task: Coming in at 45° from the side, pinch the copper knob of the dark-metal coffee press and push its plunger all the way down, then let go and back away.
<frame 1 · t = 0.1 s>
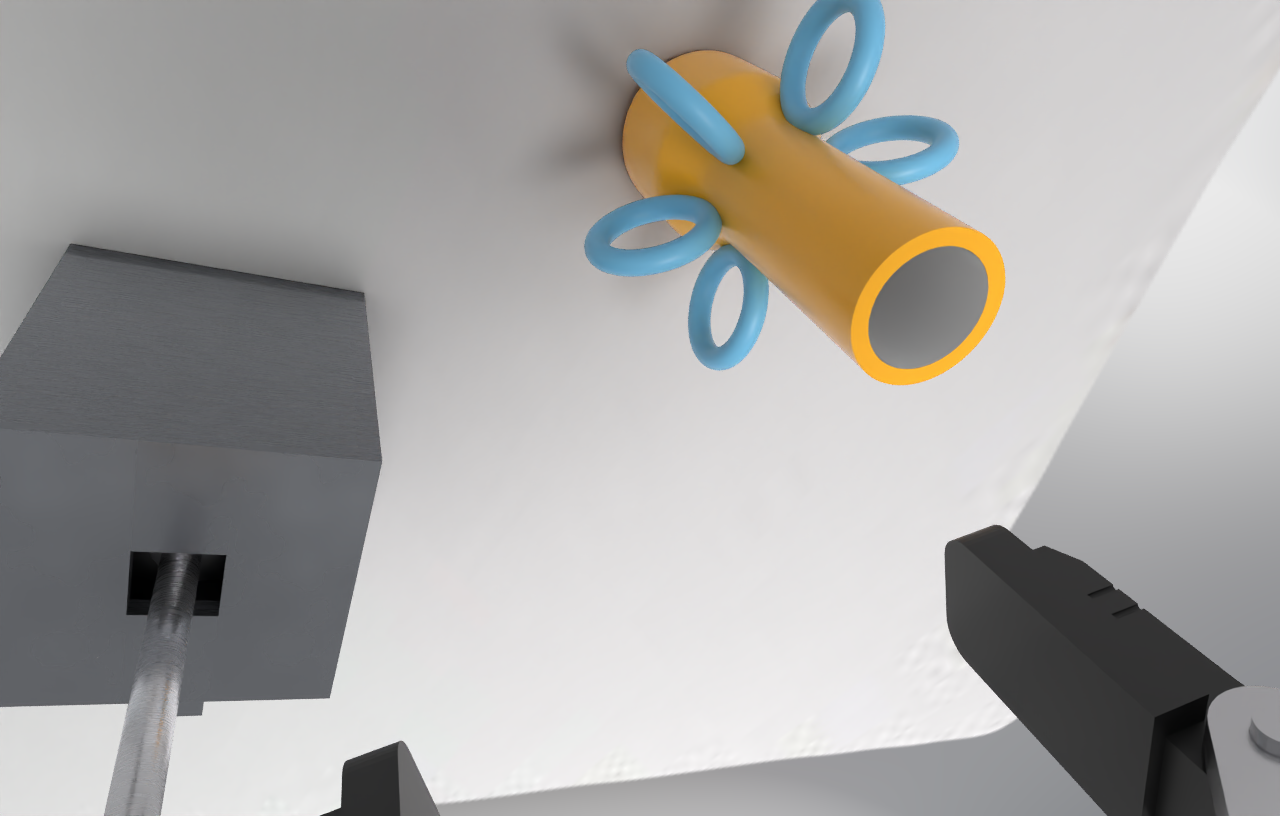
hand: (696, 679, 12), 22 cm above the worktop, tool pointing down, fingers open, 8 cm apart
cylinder: (694, 134, 32), on the worktop
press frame: (214, 383, 31), on the worktop
plunger: (148, 733, 19), point 15 cm above the worktop, slide at 0.0 cm
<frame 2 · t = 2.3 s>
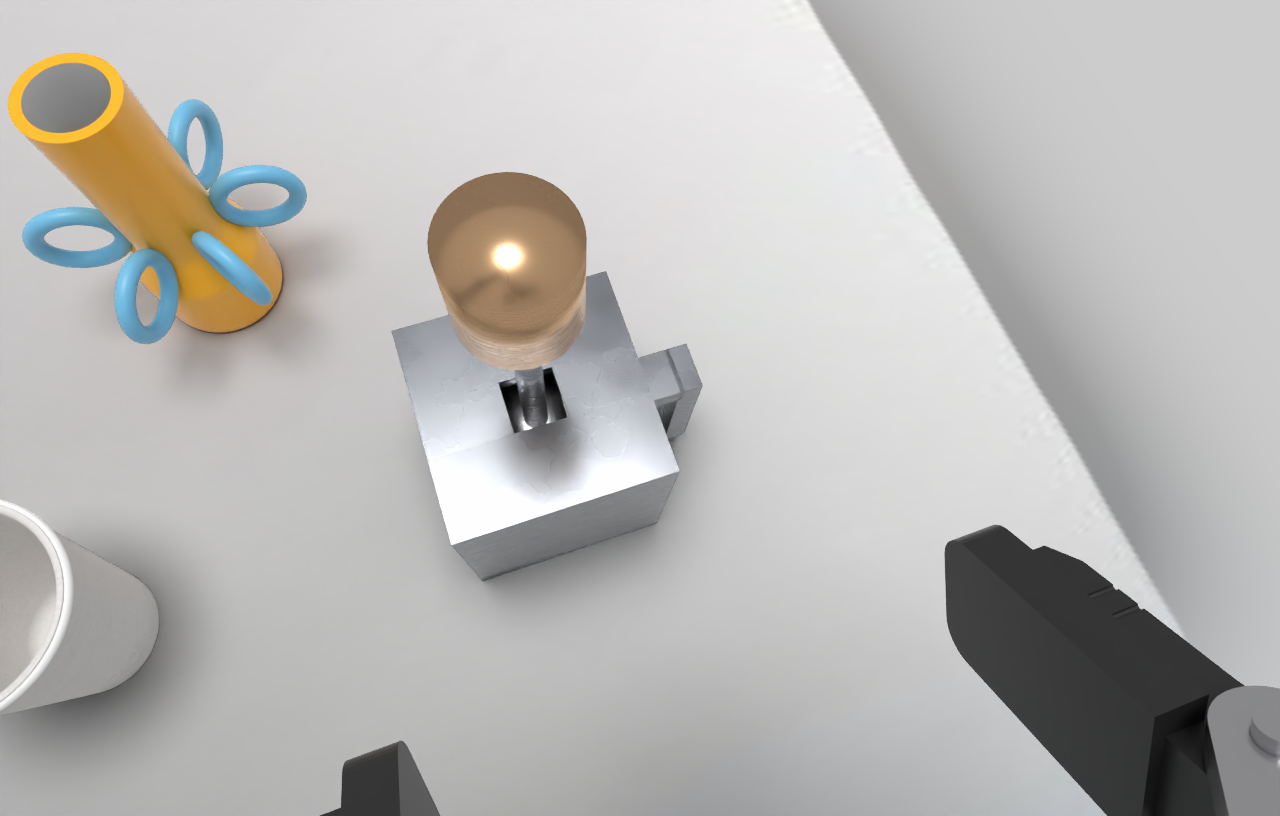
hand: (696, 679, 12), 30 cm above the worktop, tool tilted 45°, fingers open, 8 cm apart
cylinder: (229, 284, 46), on the worktop
dixie cup: (98, 631, 40), on the worktop
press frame: (544, 467, 43), on the worktop
plunger: (526, 354, 29), point 15 cm above the worktop, slide at 0.0 cm
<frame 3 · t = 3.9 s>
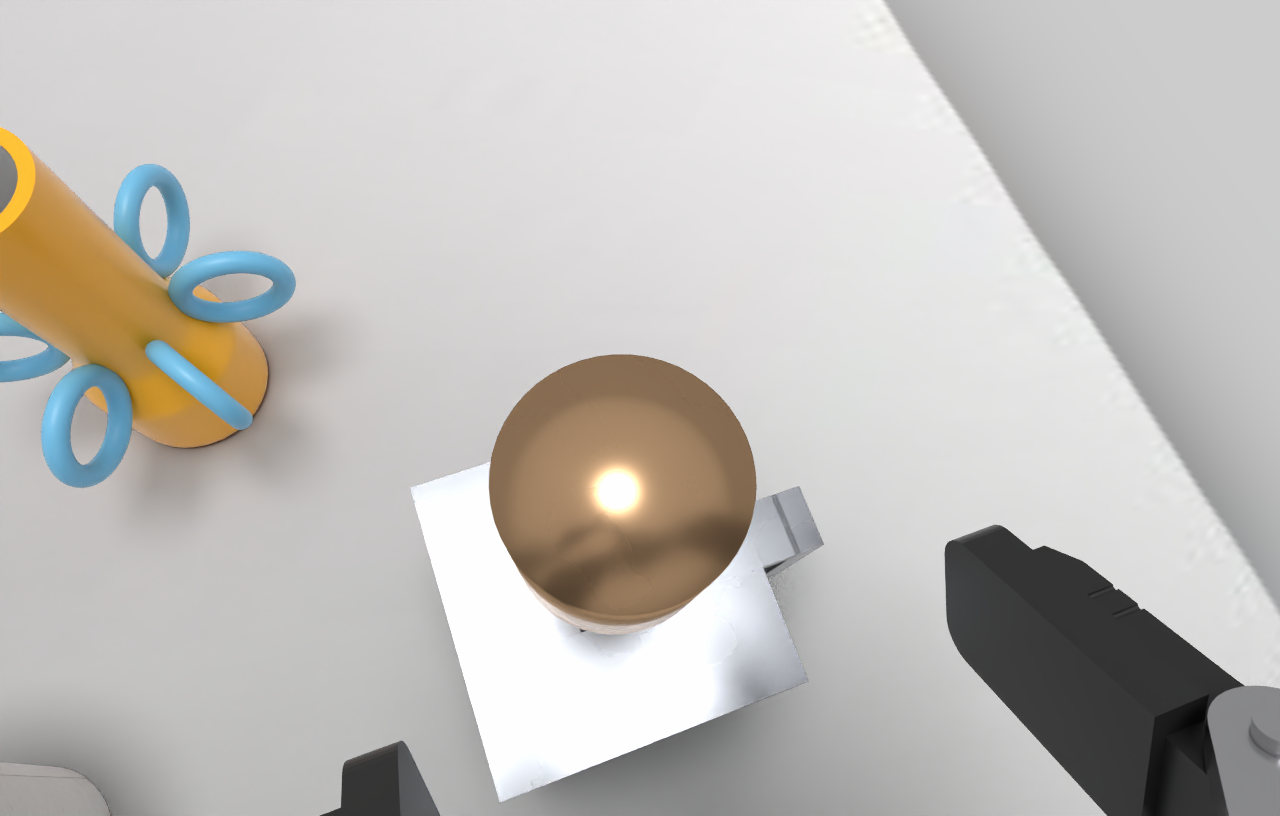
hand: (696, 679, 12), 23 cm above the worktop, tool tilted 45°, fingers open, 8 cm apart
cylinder: (202, 384, 37), on the worktop
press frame: (599, 615, 34), on the worktop
plunger: (609, 557, 20), point 15 cm above the worktop, slide at 0.0 cm
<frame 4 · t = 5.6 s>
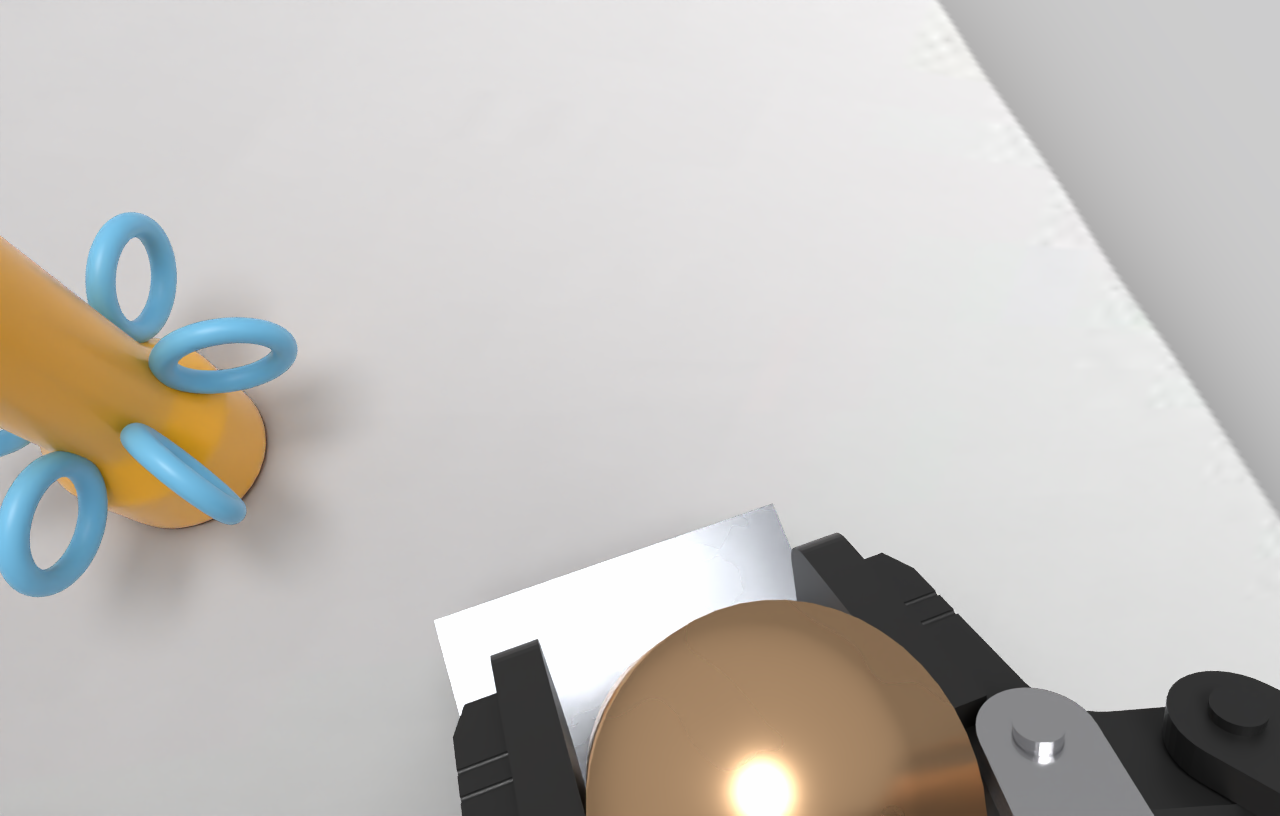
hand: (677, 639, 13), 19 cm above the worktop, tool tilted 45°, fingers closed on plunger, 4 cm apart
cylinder: (191, 452, 32), on the worktop
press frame: (642, 725, 30), on the worktop
plunger: (694, 753, 16), point 15 cm above the worktop, slide at 0.0 cm, touching gripper
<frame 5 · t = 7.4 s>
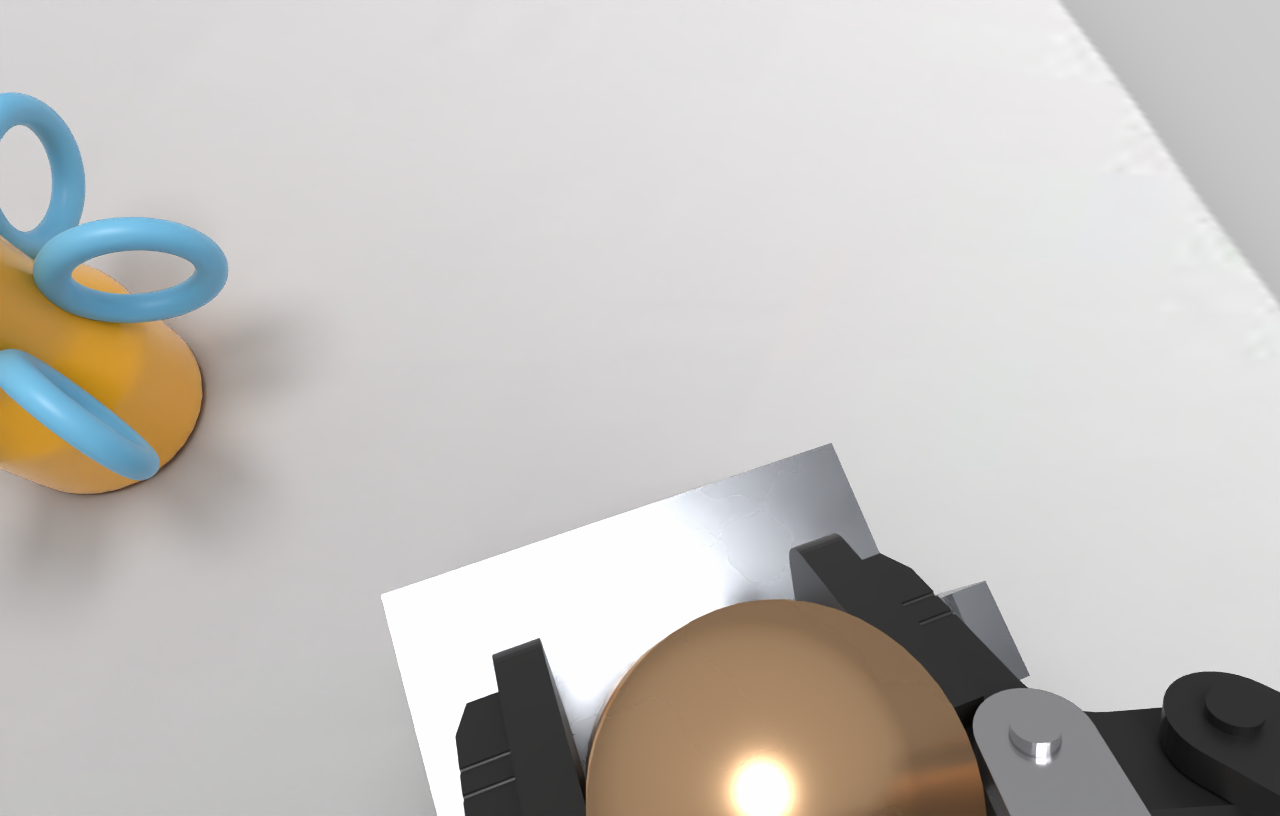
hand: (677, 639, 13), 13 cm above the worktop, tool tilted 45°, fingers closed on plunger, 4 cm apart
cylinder: (114, 405, 27), on the worktop
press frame: (653, 731, 25), on the worktop
plunger: (693, 753, 16), point 10 cm above the worktop, slide at 5.7 cm, touching gripper
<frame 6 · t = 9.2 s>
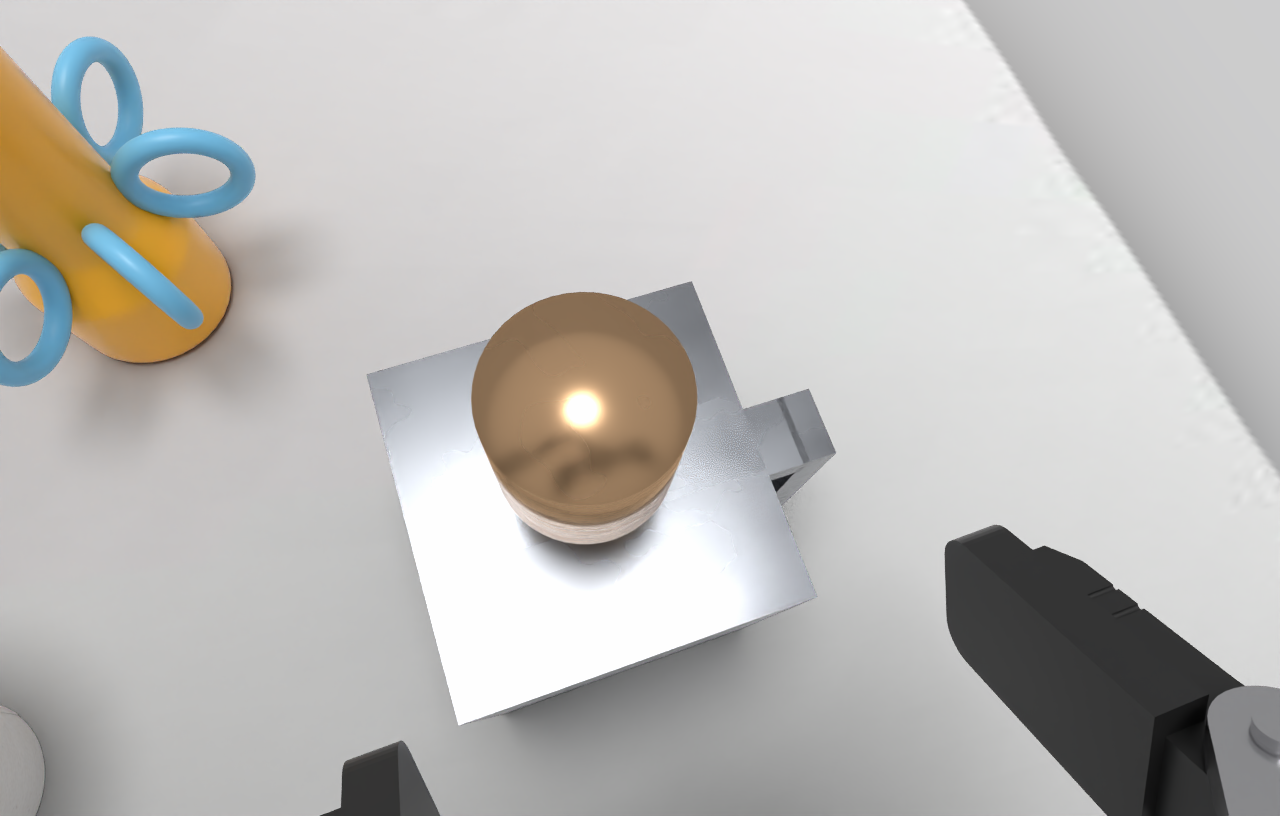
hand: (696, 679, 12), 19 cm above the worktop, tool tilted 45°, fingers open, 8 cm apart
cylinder: (160, 297, 34), on the worktop
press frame: (586, 550, 31), on the worktop
plunger: (586, 491, 22), point 10 cm above the worktop, slide at 5.7 cm
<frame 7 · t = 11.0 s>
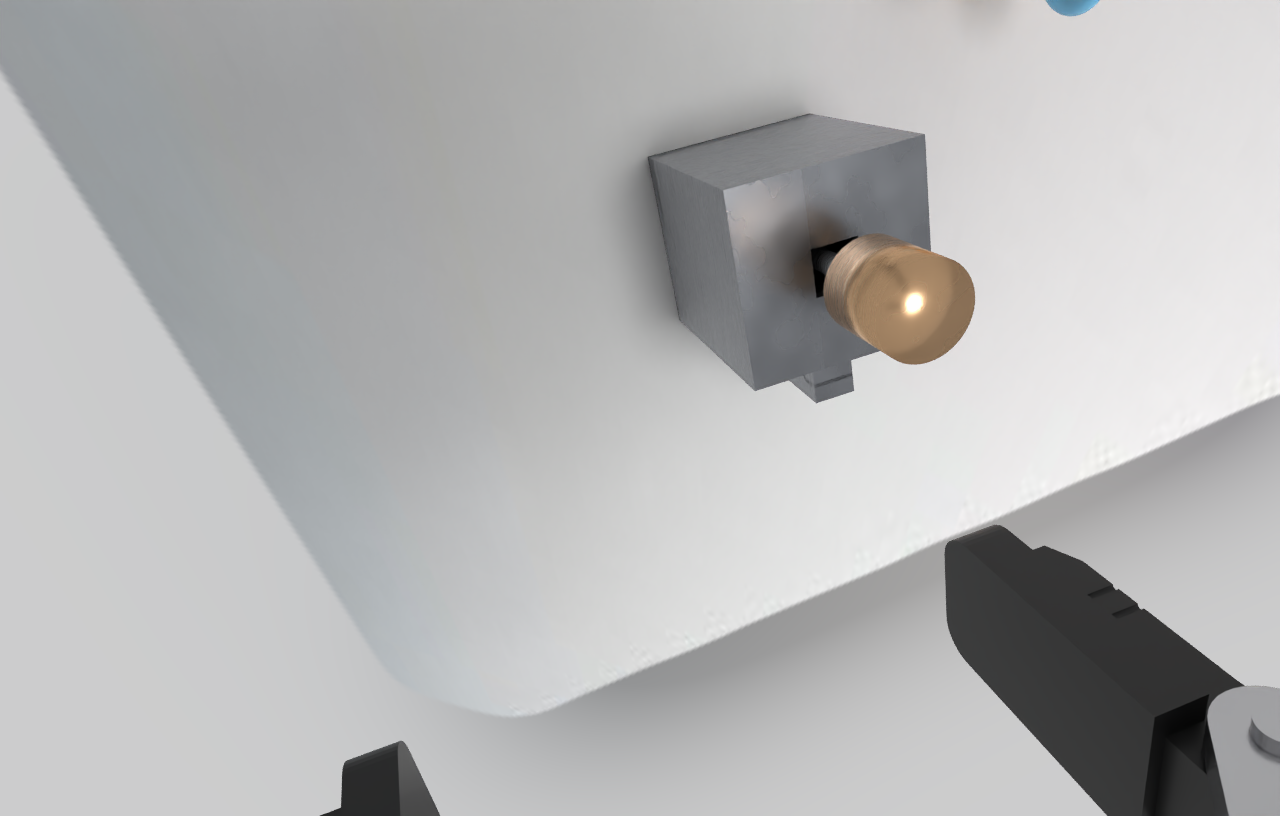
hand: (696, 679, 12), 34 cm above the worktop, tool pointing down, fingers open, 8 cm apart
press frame: (742, 219, 46), on the worktop
plunger: (825, 261, 37), point 10 cm above the worktop, slide at 5.7 cm
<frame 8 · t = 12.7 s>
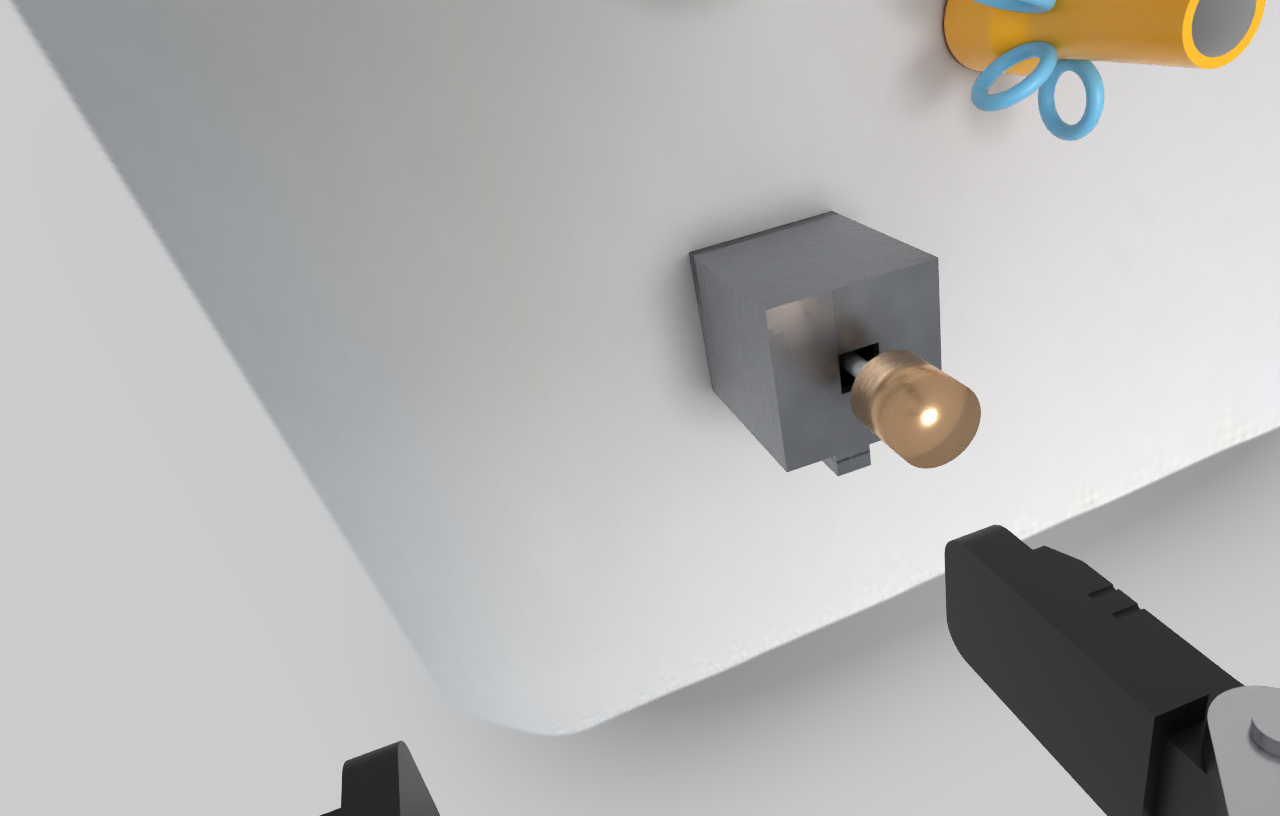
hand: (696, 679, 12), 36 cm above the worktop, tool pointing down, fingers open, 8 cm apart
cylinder: (986, 14, 47), on the worktop
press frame: (771, 303, 51), on the worktop
plunger: (849, 361, 43), point 10 cm above the worktop, slide at 5.7 cm
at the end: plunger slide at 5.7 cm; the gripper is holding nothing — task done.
